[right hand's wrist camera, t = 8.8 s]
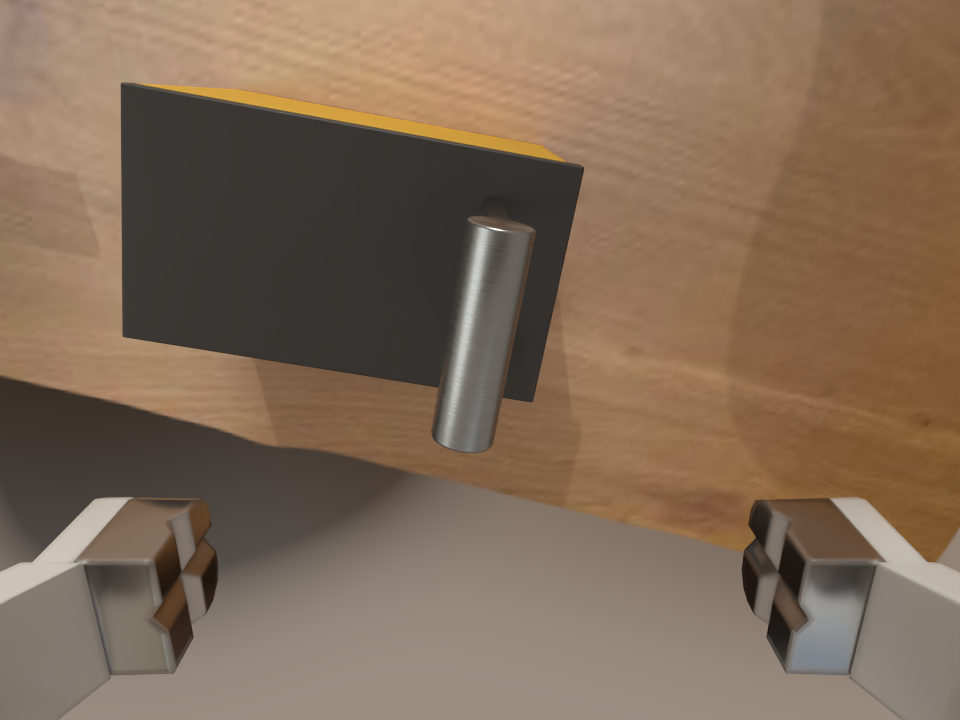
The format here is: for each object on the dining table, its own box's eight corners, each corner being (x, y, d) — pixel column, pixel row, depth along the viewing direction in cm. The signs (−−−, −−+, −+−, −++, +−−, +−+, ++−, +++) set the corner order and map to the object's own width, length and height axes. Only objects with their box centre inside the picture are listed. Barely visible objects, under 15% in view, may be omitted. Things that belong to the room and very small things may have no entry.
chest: (543, 145, 36) (569, 162, 25) (509, 316, 39) (520, 392, 29) (235, 89, 35) (133, 82, 24) (227, 268, 38) (133, 329, 28)
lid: (581, 164, 25) (630, 193, 17) (531, 393, 29) (552, 510, 20) (132, 82, 24) (-43, 71, 16) (133, 330, 28) (-14, 425, 19)
